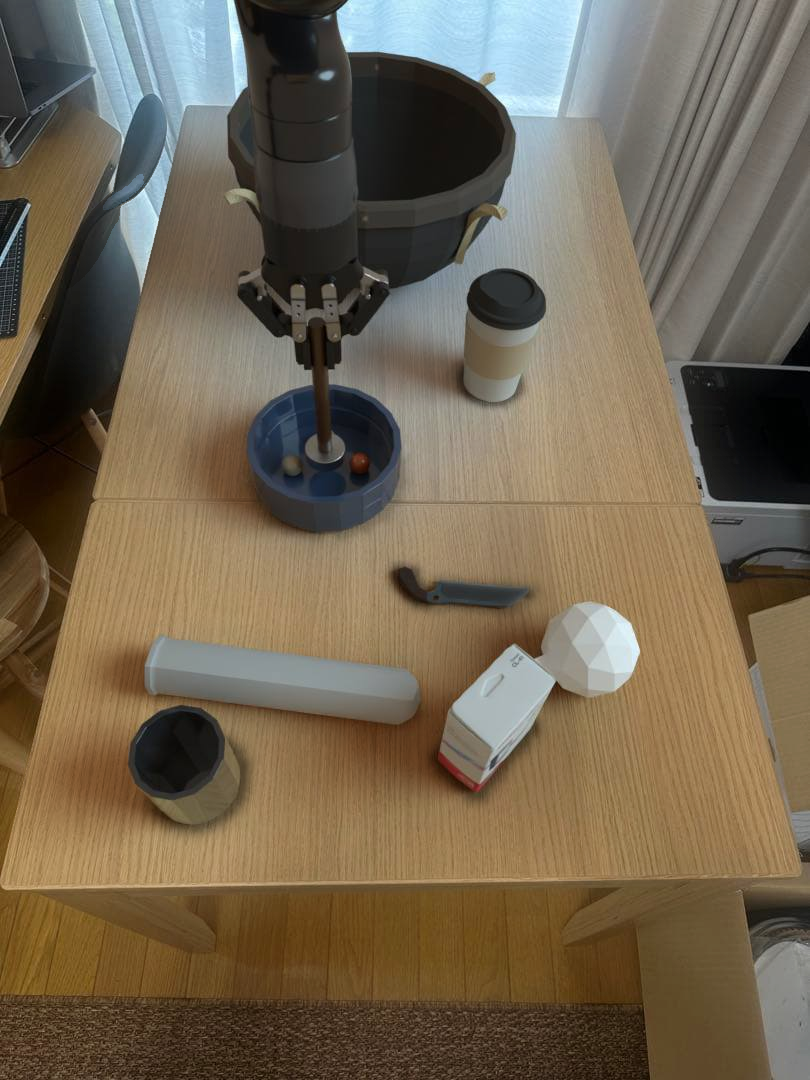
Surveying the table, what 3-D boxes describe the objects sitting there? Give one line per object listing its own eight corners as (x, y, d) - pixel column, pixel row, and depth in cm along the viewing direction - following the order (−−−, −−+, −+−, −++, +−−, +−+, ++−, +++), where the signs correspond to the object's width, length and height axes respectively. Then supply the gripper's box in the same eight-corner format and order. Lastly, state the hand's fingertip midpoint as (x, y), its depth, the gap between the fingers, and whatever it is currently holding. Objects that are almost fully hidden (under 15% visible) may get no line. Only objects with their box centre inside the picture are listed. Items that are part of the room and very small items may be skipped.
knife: (395, 601, 76) (395, 598, 76) (398, 568, 79) (398, 565, 78) (530, 613, 76) (531, 610, 76) (529, 579, 79) (531, 576, 78)
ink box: (474, 795, 66) (494, 757, 56) (432, 756, 68) (444, 712, 58) (533, 727, 70) (561, 679, 60) (492, 691, 72) (513, 640, 62)
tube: (426, 658, 69) (161, 623, 69) (422, 703, 65) (140, 666, 65) (420, 695, 72) (167, 662, 73) (415, 740, 68) (147, 705, 68)
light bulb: (597, 596, 76) (491, 640, 74) (628, 580, 67) (508, 630, 65) (635, 675, 74) (527, 722, 73) (671, 670, 65) (550, 724, 64)
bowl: (488, 196, 116) (510, 57, 99) (499, 356, 97) (528, 217, 80) (261, 183, 115) (244, 40, 98) (228, 342, 96) (199, 199, 79)
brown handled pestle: (305, 472, 81) (291, 340, 65) (305, 441, 83) (292, 306, 67) (346, 471, 81) (342, 339, 65) (344, 440, 84) (340, 305, 68)
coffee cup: (491, 347, 98) (511, 248, 85) (540, 387, 94) (567, 290, 82) (440, 376, 94) (452, 278, 82) (488, 419, 91) (509, 323, 78)
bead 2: (349, 478, 84) (349, 465, 82) (348, 462, 85) (348, 448, 83) (370, 477, 84) (370, 464, 82) (369, 461, 86) (369, 448, 84)
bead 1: (282, 480, 83) (280, 467, 81) (282, 463, 85) (280, 450, 83) (303, 479, 84) (302, 466, 82) (303, 463, 85) (302, 449, 83)
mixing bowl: (250, 537, 80) (243, 505, 75) (255, 421, 89) (249, 385, 84) (403, 531, 81) (406, 499, 76) (393, 418, 90) (395, 382, 85)
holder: (150, 828, 64) (122, 803, 56) (159, 741, 68) (134, 707, 60) (238, 822, 64) (221, 797, 57) (242, 736, 68) (227, 702, 61)
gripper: (394, 166, 59) (388, 335, 73) (218, 166, 58) (248, 337, 72) (401, 224, 55) (393, 391, 69) (212, 225, 54) (244, 394, 68)
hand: (319, 363), depth 71 cm, fingers closed on brown handled pestle
